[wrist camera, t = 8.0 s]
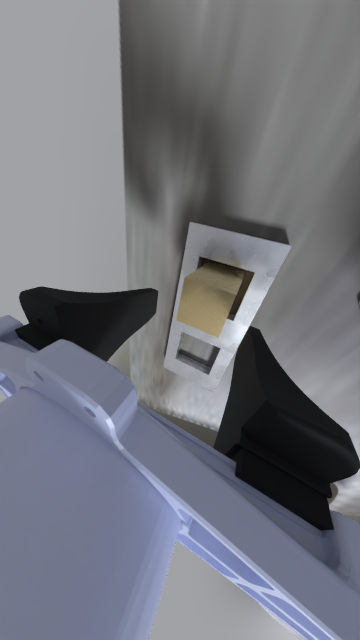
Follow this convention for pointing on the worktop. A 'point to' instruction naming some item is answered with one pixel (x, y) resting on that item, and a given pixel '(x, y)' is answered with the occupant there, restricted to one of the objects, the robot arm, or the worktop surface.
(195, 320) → the brass peg
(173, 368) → the silver plate with holes
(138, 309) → the robot arm
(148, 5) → the worktop surface
